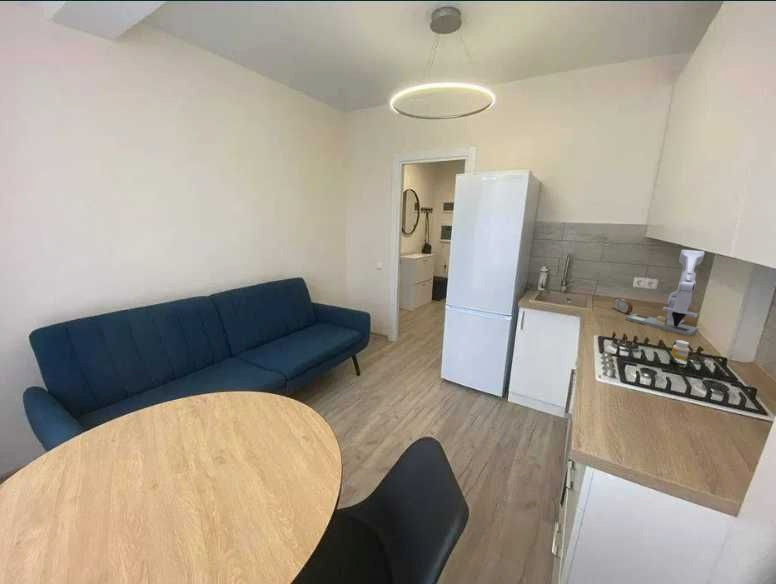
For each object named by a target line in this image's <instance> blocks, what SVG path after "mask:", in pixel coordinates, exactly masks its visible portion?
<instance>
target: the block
mask: <svg viewBox="0 0 776 584" xmlns="http://www.w3.org/2000/svg"><path fill="white" fill-rule="evenodd" d="M656 318H657V319H656V324H660V325H666V323H667V320H668V318H667V316H661V315H658V316H656Z"/></svg>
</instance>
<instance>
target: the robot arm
mask: <svg viewBox="0 0 776 584" xmlns="http://www.w3.org/2000/svg"><path fill="white" fill-rule="evenodd" d="M705 253H706V252H705V251H704V250H691V249H685V248H684V249H682V250H681V251H680V255H679V259H678V263H679V264H682V270H681V274H680V278H679V282H678V286H677V290H675V291H673V292H671V293H670V294H669V295H668V298H667V305H668V307H667V306H663V307H662V311H664V312H665V311H666V312H667V316H666V317H667V318H668V320H667V321H670V322H674V326H678V325H679V324H683V323H684V322H685V320H684V318H685V317H686V316H689V317H693V318H697V317H698V316H699V315H698V314H699V313H697V312H693V311H688V309H689V308H690V305H691V301H692V295H693V293H694V292H695V290H696V283H697V282H696V277H697V275H696V272H695V268H696V266H699V265H700V264H701V263H702V262H703V260H704V257H705Z"/></svg>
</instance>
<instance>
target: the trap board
mask: <svg viewBox="0 0 776 584" xmlns="http://www.w3.org/2000/svg"><path fill="white" fill-rule="evenodd" d="M656 319H657V317H652V316H648V315H643V314H639V313H633V314H630V315H628V316H626V318H625V321H627V320H629V321H628V322H631V321H633V322H632V323H635V322H638V323H637V324H639V323H642V324H641V325H643V324H646V325H645V326H647V325H649V326H648V327H651V326H653V327H652V328H655V327H657V328H656V329H659V328H660V330H663V331H668V332H670V333H672V332H673V333H676V334H680V335H684V336H688V337H691V336H693V335H694V334H696V332H698V329H699V328H698V327H696V326H691V325H686V324H683V323H681V324H679V325H678V326H674V322H670V321H667V323H666V325H660V324H656Z"/></svg>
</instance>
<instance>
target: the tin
mask: <svg viewBox="0 0 776 584" xmlns="http://www.w3.org/2000/svg"><path fill="white" fill-rule="evenodd" d="M613 308H614V309H615V310H616V311H618V310H619V311H618V312H620V311H621V312H620V313H622V312H623V314H631V313H632V312H633V304H632V302H631V301H630V300H627V299H625V298H622V297H617V298H615V299H614V300H613Z"/></svg>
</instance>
